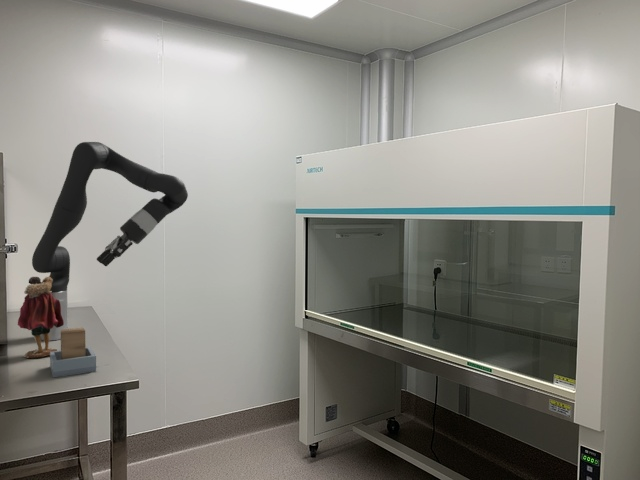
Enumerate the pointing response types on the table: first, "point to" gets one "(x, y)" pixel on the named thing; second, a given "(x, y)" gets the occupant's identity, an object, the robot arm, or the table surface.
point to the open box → (72, 363)
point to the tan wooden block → (72, 343)
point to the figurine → (40, 314)
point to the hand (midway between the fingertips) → (100, 262)
